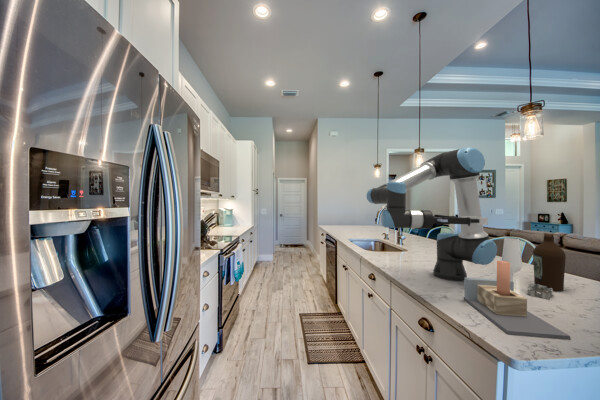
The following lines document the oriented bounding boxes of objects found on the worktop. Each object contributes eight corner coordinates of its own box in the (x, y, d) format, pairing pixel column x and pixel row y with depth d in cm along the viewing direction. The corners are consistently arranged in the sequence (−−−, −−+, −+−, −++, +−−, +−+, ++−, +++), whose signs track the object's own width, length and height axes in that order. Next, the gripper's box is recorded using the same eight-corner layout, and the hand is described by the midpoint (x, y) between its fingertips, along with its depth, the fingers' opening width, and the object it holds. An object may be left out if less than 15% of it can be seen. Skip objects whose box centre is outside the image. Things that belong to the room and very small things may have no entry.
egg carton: (549, 301, 98) (549, 290, 98) (524, 295, 104) (524, 285, 104) (554, 295, 104) (554, 285, 104) (531, 289, 110) (531, 280, 110)
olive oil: (557, 285, 115) (557, 232, 115) (571, 293, 105) (571, 235, 106) (528, 282, 119) (528, 231, 120) (539, 289, 110) (539, 234, 110)
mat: (570, 339, 70) (570, 336, 70) (507, 334, 73) (507, 330, 73) (508, 302, 96) (508, 299, 96) (463, 299, 98) (463, 297, 98)
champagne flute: (497, 294, 103) (497, 238, 104) (507, 292, 106) (507, 237, 106) (516, 300, 97) (516, 240, 97) (526, 298, 100) (526, 239, 100)
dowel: (496, 307, 86) (496, 262, 86) (496, 303, 89) (496, 260, 89) (510, 310, 84) (510, 263, 84) (509, 306, 87) (509, 261, 87)
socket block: (526, 316, 81) (527, 298, 81) (496, 314, 83) (496, 296, 83) (503, 302, 93) (503, 286, 93) (477, 300, 95) (477, 284, 95)
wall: (513, 302, 93) (513, 281, 93) (467, 299, 95) (467, 279, 95) (509, 300, 95) (509, 279, 95) (464, 297, 98) (464, 277, 98)
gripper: (413, 225, 111) (468, 227, 108) (429, 231, 92) (497, 232, 88) (413, 209, 111) (468, 210, 108) (429, 211, 92) (497, 212, 88)
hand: (481, 220), depth 98 cm, fingers open, 7 cm apart
